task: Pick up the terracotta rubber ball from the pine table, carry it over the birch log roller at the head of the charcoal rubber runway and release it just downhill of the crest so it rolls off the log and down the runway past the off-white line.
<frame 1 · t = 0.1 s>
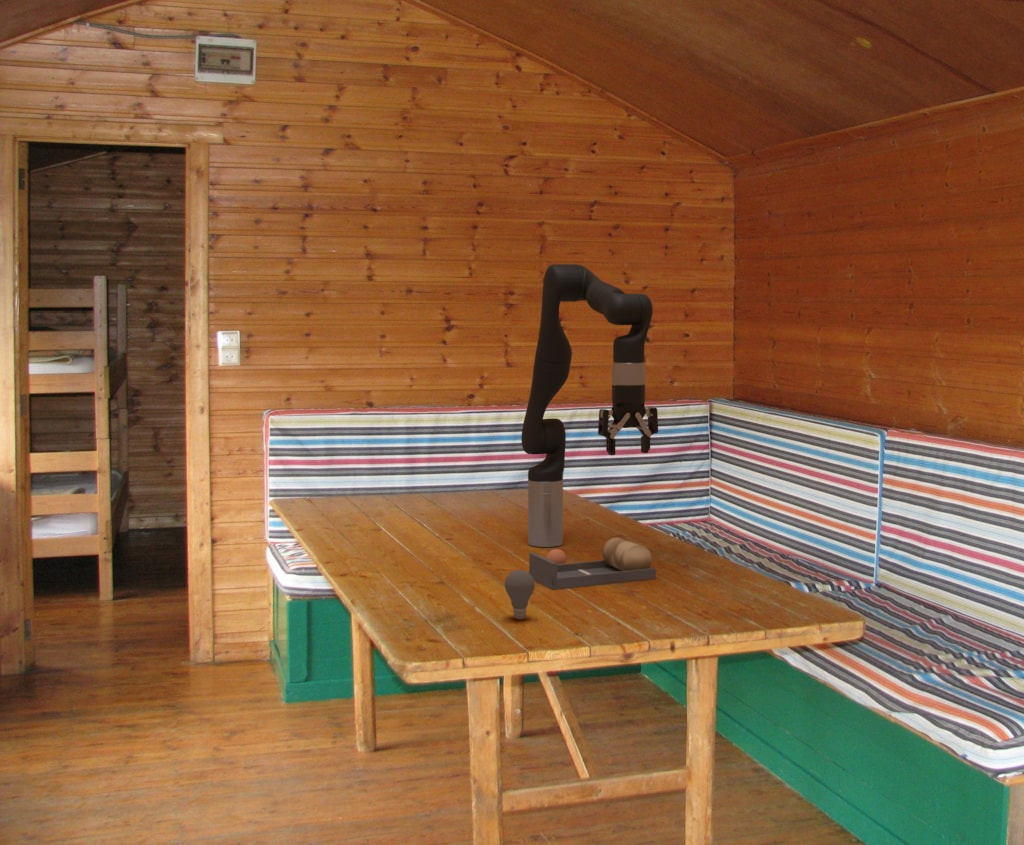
hand: (628, 453, 265), 29 cm above the table, fingers open, 8 cm apart
ball: (556, 569, 280), on the table
light bulb: (519, 620, 235), on the table
log roller: (626, 574, 274), resting on runway
runway: (592, 578, 270), on the table
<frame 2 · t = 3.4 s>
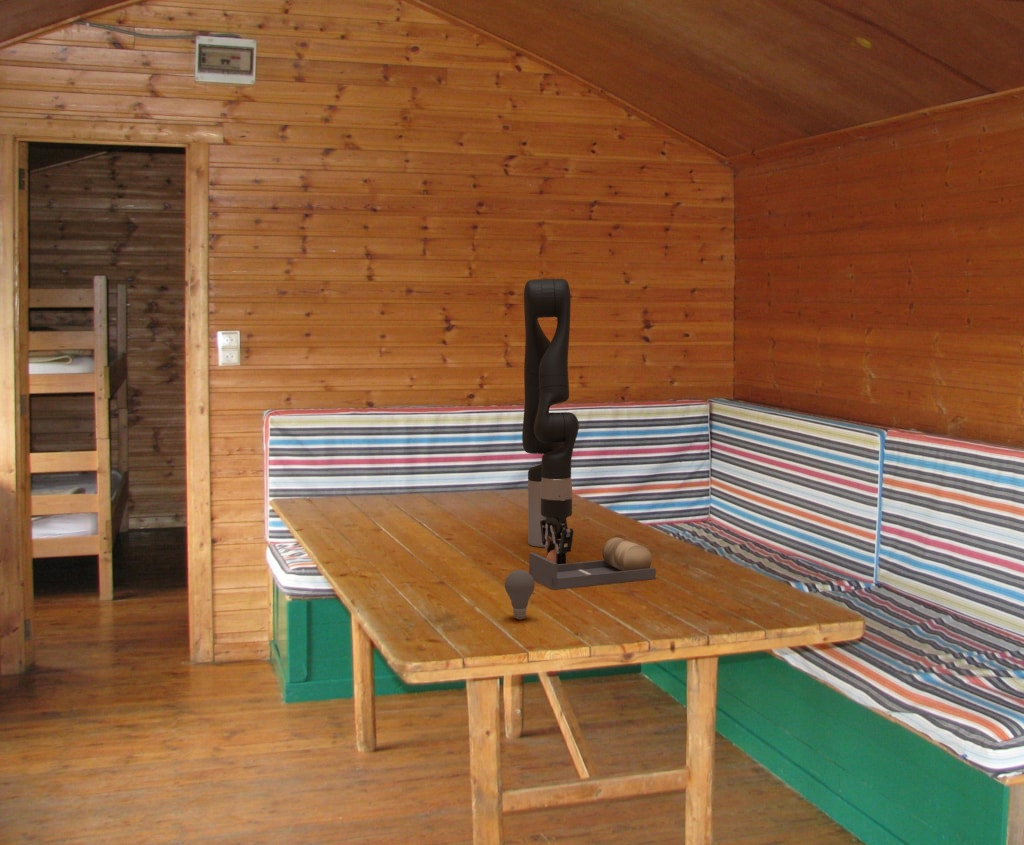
hand: (556, 566, 280), 1 cm above the table, fingers closed on ball, 4 cm apart
ball: (556, 569, 280), on the table, touching gripper
everything else where it was.
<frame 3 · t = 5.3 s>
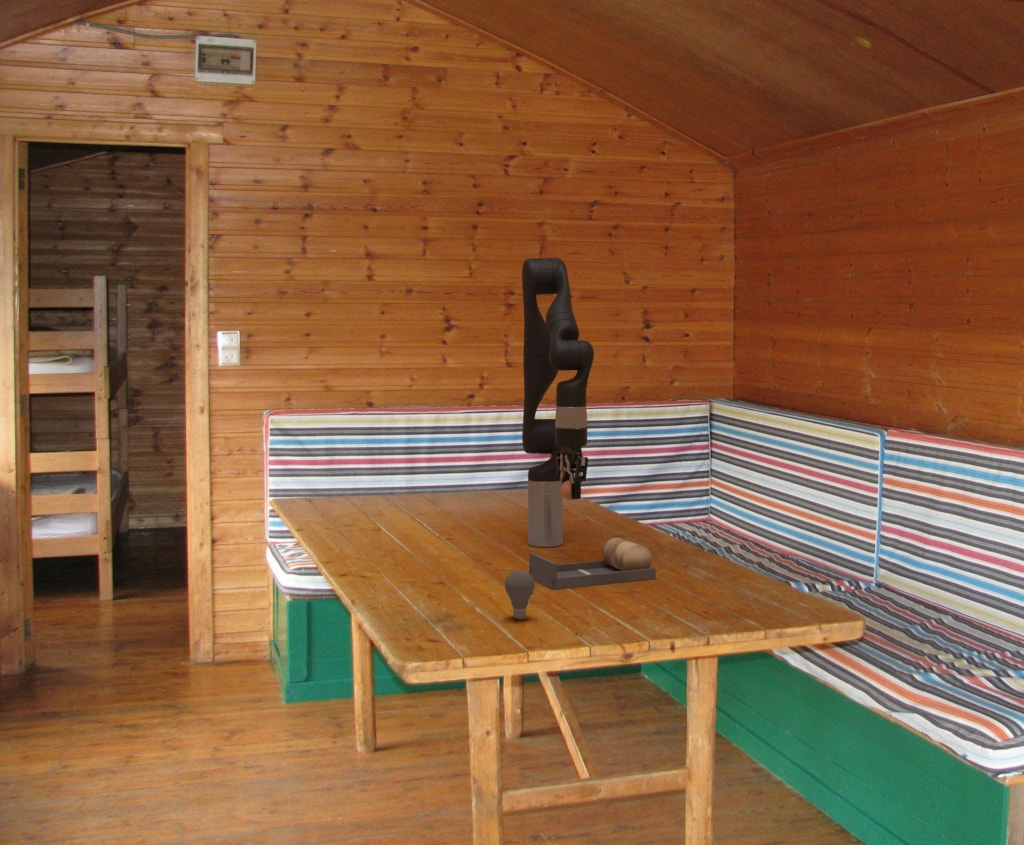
hand: (571, 497, 276), 18 cm above the table, fingers closed on ball, 4 cm apart
ball: (570, 500, 276), point 17 cm above the table, touching gripper
everything else where it was.
when the fingers open (9 cm above the table, at t = 7.2 s): ball drops 5 cm and tips over, resting on runway.
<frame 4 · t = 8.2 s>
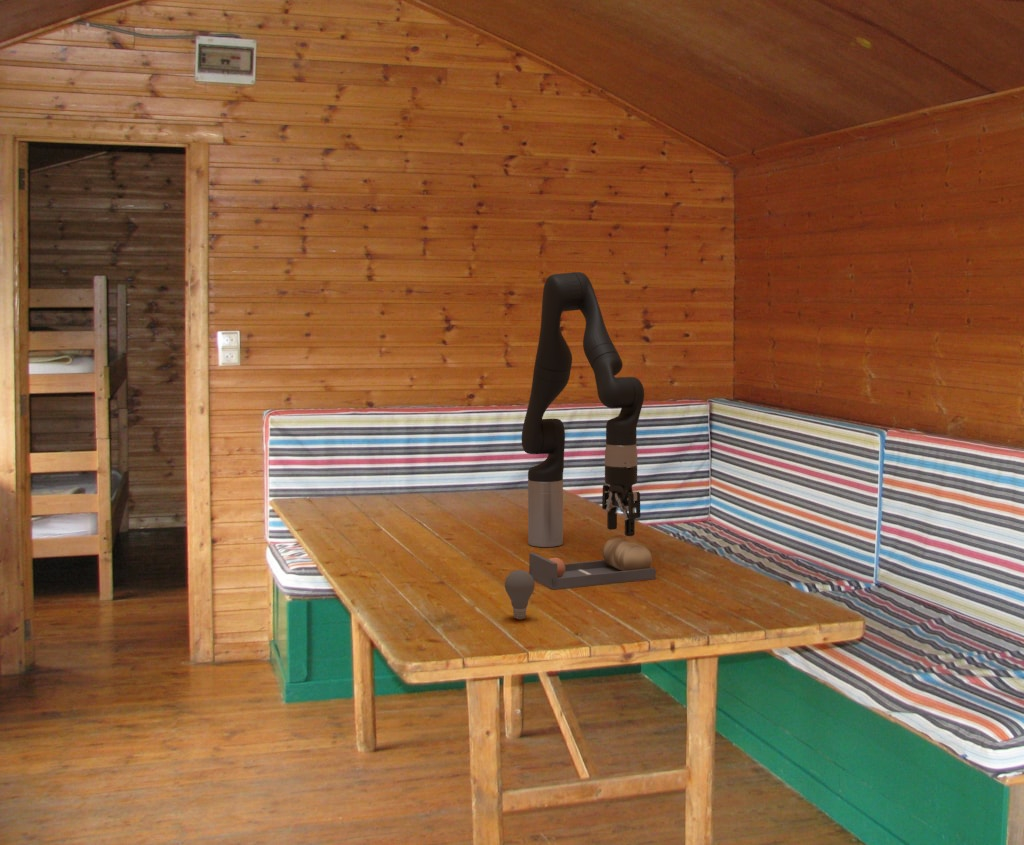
hand: (620, 532, 272), 10 cm above the table, fingers open, 8 cm apart
ball: (564, 565, 267), point 4 cm above the table, tilted 101°, touching runway
everything else where it was.
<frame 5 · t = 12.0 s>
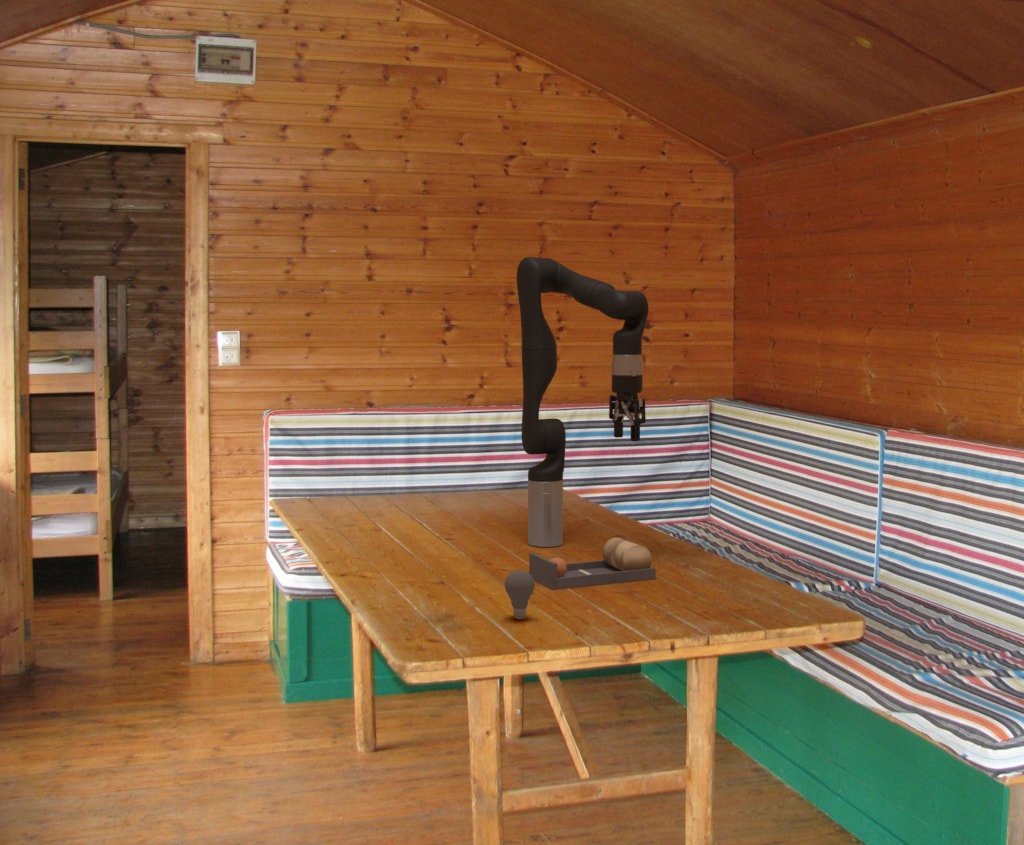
hand: (626, 439, 286), 30 cm above the table, fingers open, 8 cm apart
ball: (566, 566, 267), point 3 cm above the table, tilted 91°, touching runway
everything else where it was.
at the end: ball inside the target area on the runway (1.1 cm from its centre), point 3.3 cm above the runway's base; the gripper is holding nothing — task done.
